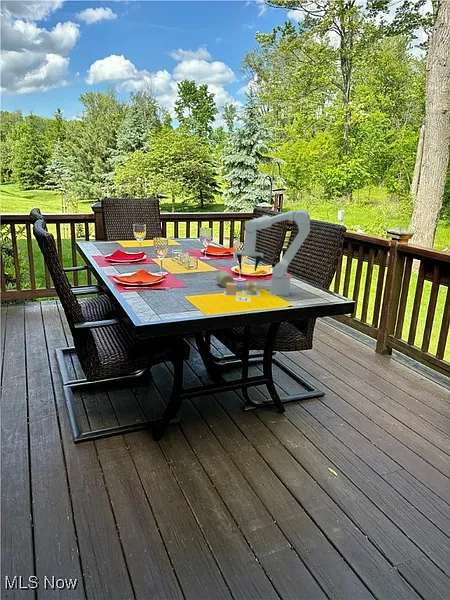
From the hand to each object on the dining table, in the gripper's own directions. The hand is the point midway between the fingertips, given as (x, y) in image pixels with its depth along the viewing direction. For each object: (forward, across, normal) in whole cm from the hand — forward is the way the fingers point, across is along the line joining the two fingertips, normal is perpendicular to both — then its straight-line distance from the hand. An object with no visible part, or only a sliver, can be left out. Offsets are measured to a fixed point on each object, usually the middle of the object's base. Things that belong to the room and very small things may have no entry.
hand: (247, 270), depth 225 cm
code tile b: (+10, -8, -11) cm, 17 cm away
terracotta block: (+10, -8, -11) cm, 17 cm away
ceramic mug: (+11, -10, +4) cm, 15 cm away
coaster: (+10, +2, -8) cm, 13 cm away
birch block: (+10, +2, -8) cm, 13 cm away
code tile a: (+10, -2, -19) cm, 22 cm away
